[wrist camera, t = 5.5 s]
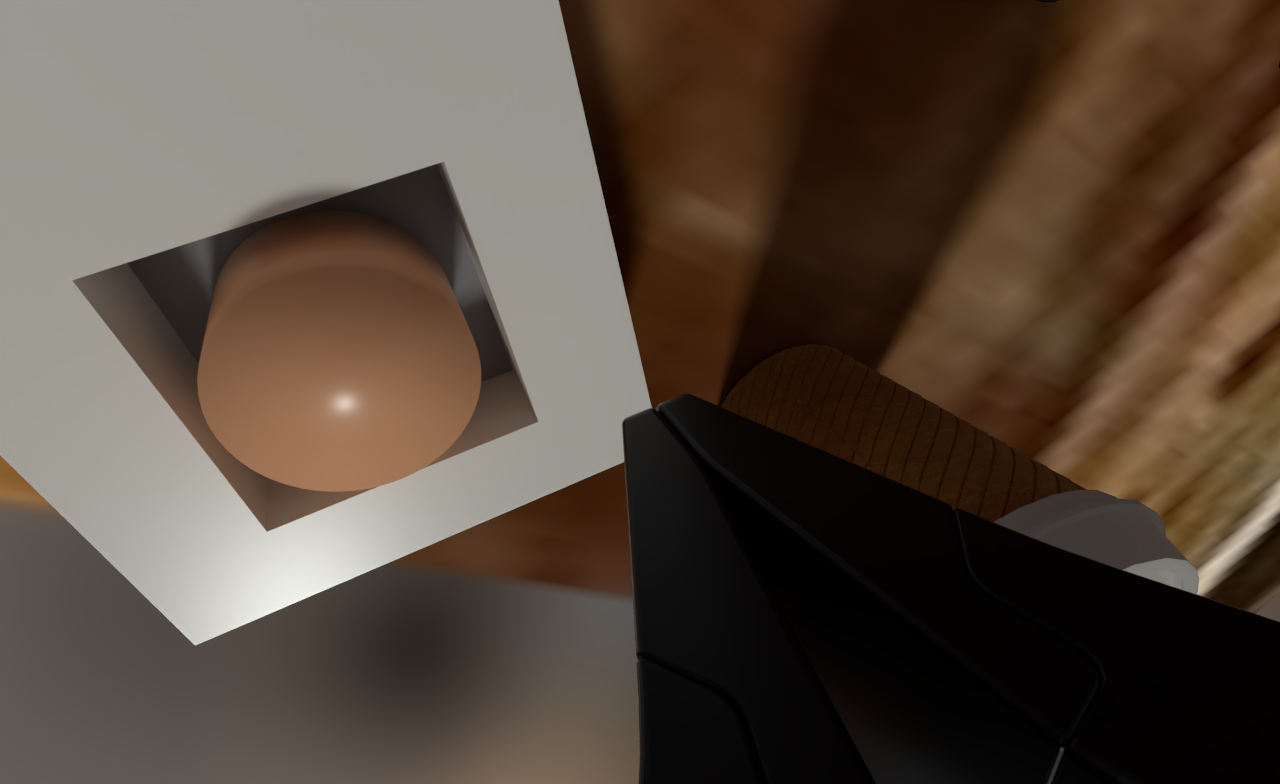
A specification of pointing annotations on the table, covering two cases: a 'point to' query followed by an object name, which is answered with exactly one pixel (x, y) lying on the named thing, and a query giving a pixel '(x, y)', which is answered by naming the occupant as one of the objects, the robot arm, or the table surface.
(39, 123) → the button panel
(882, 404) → the disposable coffee cup
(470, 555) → the table surface
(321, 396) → the terracotta button
